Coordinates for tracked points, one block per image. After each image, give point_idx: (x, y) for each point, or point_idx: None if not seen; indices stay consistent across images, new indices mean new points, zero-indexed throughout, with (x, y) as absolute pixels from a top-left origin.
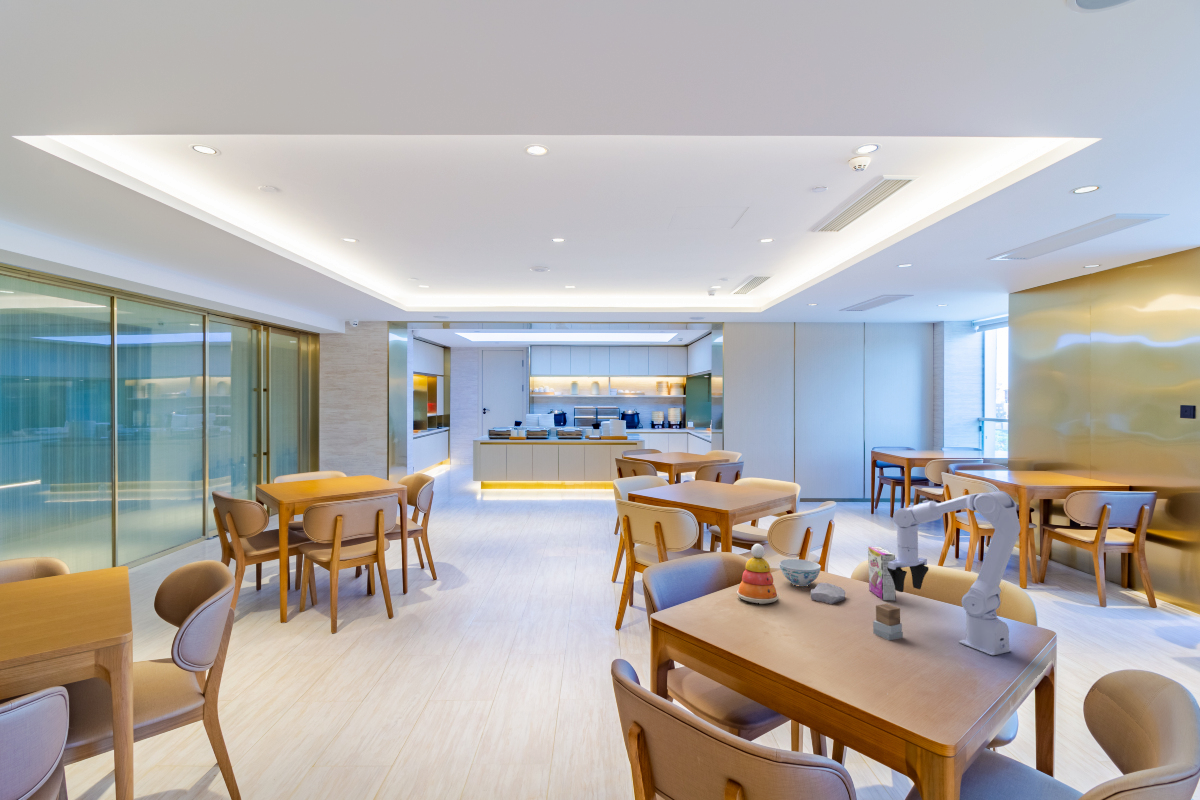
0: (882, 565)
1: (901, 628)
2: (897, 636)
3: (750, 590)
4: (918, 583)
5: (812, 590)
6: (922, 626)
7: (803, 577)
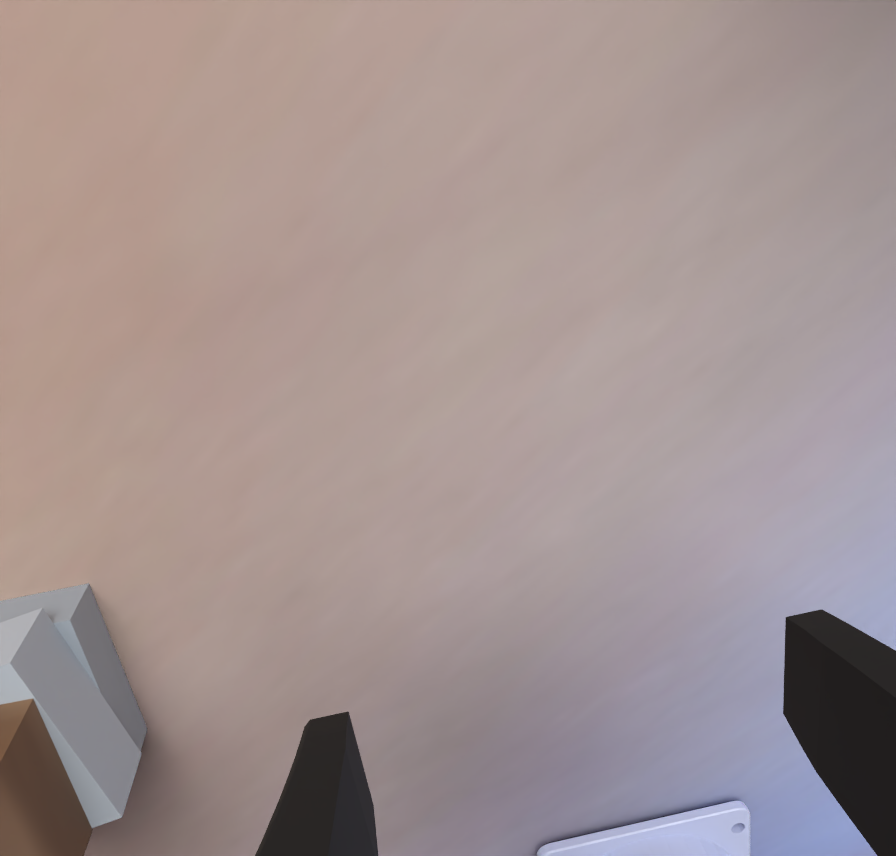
0: None
1: (129, 775)
2: None
3: None
4: (854, 783)
5: None
6: (542, 538)
7: None
